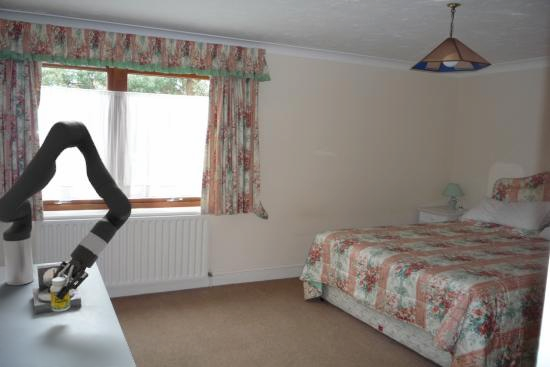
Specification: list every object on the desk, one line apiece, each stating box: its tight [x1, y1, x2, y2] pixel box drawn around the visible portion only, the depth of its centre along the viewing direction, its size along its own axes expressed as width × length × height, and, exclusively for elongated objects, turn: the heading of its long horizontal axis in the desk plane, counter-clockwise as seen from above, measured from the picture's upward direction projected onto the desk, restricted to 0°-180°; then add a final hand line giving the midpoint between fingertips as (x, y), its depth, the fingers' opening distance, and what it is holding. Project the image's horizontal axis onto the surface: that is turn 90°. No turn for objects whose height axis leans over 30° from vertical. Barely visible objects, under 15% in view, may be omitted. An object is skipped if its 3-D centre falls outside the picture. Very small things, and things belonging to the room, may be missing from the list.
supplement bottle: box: [50, 277, 70, 312], centre depth 147 cm, size 5×5×10 cm
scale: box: [32, 261, 82, 315], centre depth 163 cm, size 17×14×11 cm
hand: (54, 295), depth 146 cm, fingers closed on supplement bottle, 5 cm apart
